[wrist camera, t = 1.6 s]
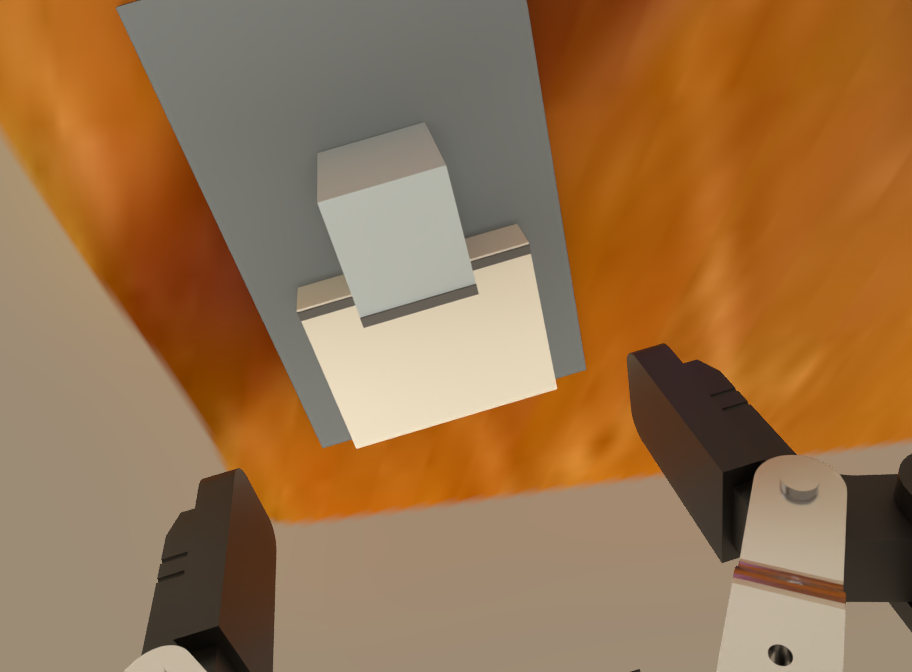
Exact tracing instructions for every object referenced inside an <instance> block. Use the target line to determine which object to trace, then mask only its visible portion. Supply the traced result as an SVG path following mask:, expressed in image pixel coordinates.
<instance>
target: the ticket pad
mask: <svg viewBox="0 0 912 672" xmlns="http://www.w3.org/2000/svg"><path fill="white" fill-rule="evenodd" d="M116 9H117V11H118V13H119V16H120V18H121V20H122V22H123V24H124V26H125V28H126V30H127V33H128V35H129V37H130V39H131V41H132V43H133V45H134V47H135V50H136V52H137V54H138V56H139V58H140V60H141V62H142V64H143V67H144V69H145V71H146V73H147V75H148V77H149V79H150V82H151V84H152V86H153V88H154V90H155V92H156V94H157V96H158V99H159V101H160V103H161V105H162V107H163V109H164V111H165V113H166V116H167V118H168V120H169V122H170V124H171V126H172V128H173V130H174V133H175V135H176V137H177V139H178V141H179V143H180V145H181V147H182V150H183V152H184V154H185V156H186V158H187V160H188V162H189V165H190V167H191V169H192V171H193V173H194V175H195V177H196V179H197V182H198V184H199V186H200V188H201V190H202V192H203V194H204V196H205V199H206V201H207V203H208V205H209V207H210V209H211V211H212V213H213V216H214V218H215V220H216V222H217V224H218V226H219V228H220V230H221V233H222V235H223V237H224V239H225V241H226V243H227V245H228V248H229V250H230V252H231V254H232V256H233V258H234V260H235V262H236V265H237V267H238V269H239V271H240V273H241V275H242V277H243V279H244V282H245V284H246V286H247V288H248V290H249V292H250V294H251V296H252V299H253V301H254V303H255V305H256V307H257V309H258V311H259V313H260V316H261V318H262V320H263V322H264V324H265V326H266V328H267V331H268V333H269V335H270V337H271V339H272V341H273V343H274V345H275V348H276V350H277V352H278V354H279V356H280V358H281V360H282V362H283V365H284V367H285V369H286V371H287V373H288V375H289V377H290V379H291V382H292V384H293V386H294V388H295V390H296V392H297V394H298V396H299V399H300V401H301V403H302V405H303V407H304V409H305V411H306V414H307V416H308V418H309V420H310V422H311V424H312V426H313V428H314V431H315V433H316V435H317V437H318V439H319V441H320V443H321V445H322V448H325V447H328V446H332V445H335V444H338V443H342V442H345V441H348V440H353V442H354V444H355V447H356V449H357V448H361V447H364V446H367V445H371V444H374V443H378V442H381V441H384V440H388V439H391V438H394V437H398V436H401V435H404V434H408V433H411V432H414V431H418V430H421V429H425V428H428V427H431V426H435V425H438V424H441V423H445V422H448V421H451V420H455V419H458V418H461V417H465V416H468V415H472V414H475V413H478V412H482V411H485V410H488V409H492V408H495V407H498V406H502V405H505V404H508V403H512V402H515V401H519V400H522V399H525V398H529V397H532V396H535V395H539V394H542V393H545V392H549V391H552V390H555V389H557V385H556V380H555V379H557V378H560V377H563V376H567V375H570V374H573V373H577V372H580V371H584V370H586V366H585V359H584V353H583V347H582V341H581V335H580V328H579V322H578V316H577V310H576V304H575V297H574V291H573V285H572V279H571V273H570V266H569V260H568V254H567V248H566V241H565V235H564V229H563V223H562V217H561V210H560V204H559V198H558V192H557V186H556V179H555V173H554V167H553V161H552V155H551V148H550V142H549V136H548V130H547V124H546V117H545V111H544V105H543V99H542V93H541V86H540V80H539V74H538V68H537V62H536V55H535V49H534V43H533V37H532V31H531V24H530V18H529V12H528V6H527V0H137V1H134V2H130V3H127V4H123V5H120V6H118V7H116ZM423 122H425V123H426V125H427V127H428V129H429V132H430V134H431V136H432V138H433V140H434V142H435V144H436V146H437V148H438V150H439V152H440V154H441V156H442V158H443V160H444V162H445V164H446V167H447V171H448V174H449V178H450V182H451V186H452V190H453V194H454V198H455V202H456V206H457V210H458V214H459V218H460V222H461V226H462V230H463V234H464V238H465V242H466V246H467V250H468V254H469V258H470V262H471V266H472V270H473V274H474V278H475V282H476V285H477V289H478V293H479V294H477V295H474V296H471V297H467V298H464V299H460V300H457V301H454V302H450V303H447V304H444V305H440V306H437V307H433V308H430V309H427V310H423V311H420V312H416V313H413V314H410V315H406V316H403V317H400V318H396V319H393V320H389V321H386V322H383V323H379V324H376V325H372V326H369V327H366V328H363V325H362V322H361V320H360V316H359V313H358V311H357V308H356V305H355V303H354V300H353V297H352V295H351V292H350V289H349V286H348V284H347V281H346V278H345V276H344V273H343V270H342V268H341V265H340V262H339V260H338V257H337V254H336V252H335V249H334V246H333V244H332V241H331V238H330V236H329V233H328V230H327V228H326V225H325V222H324V220H323V217H322V214H321V212H320V209H319V206H318V203H317V153H319V152H323V151H326V150H330V149H333V148H337V147H340V146H344V145H347V144H350V143H354V142H357V141H361V140H364V139H368V138H371V137H374V136H378V135H381V134H385V133H388V132H392V131H395V130H399V129H402V128H405V127H409V126H412V125H416V124H419V123H423Z"/></svg>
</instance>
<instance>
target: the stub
mask: <svg viewBox="0 0 912 672" xmlns="http://www.w3.org/2000/svg"><path fill="white" fill-rule="evenodd" d="M317 203H318V206H319V209H320V212H321V214H322V217H323V220H324V222H325V225H326V228H327V230H328V233H329V236H330V238H331V241H332V244H333V246H334V249H335V252H336V254H337V257H338V260H339V262H340V265H341V268H342V270H343V273H344V276H345V278H346V281H347V284H348V286H349V289H350V292H351V295H352V297H353V300H354V303H355V305H356V308H357V311H358V313H359V316H360V320H361V322H362V325H363V328H366V327H369V326H372V325H376V324H379V323H383V322H386V321H389V320H393V319H396V318H400V317H403V316H406V315H410V314H413V313H416V312H420V311H423V310H427V309H430V308H433V307H437V306H440V305H444V304H447V303H450V302H454V301H457V300H460V299H464V298H467V297H471V296H474V295H477V294H479V293H478V289H477V285H476V282H475V278H474V274H473V270H472V266H471V262H470V258H469V254H468V250H467V246H466V242H465V238H464V234H463V230H462V226H461V222H460V218H459V214H458V210H457V206H456V202H455V198H454V194H453V190H452V186H451V182H450V178H449V174H448V171H447V167H446V164H445V162H444V160H443V158H442V156H441V154H440V152H439V150H438V148H437V146H436V144H435V142H434V140H433V138H432V136H431V134H430V132H429V129H428V127H427V125H426V123H425V122H423V123H419V124H416V125H412V126H409V127H405V128H402V129H399V130H395V131H392V132H388V133H385V134H381V135H378V136H374V137H371V138H368V139H364V140H361V141H357V142H354V143H350V144H347V145H344V146H340V147H337V148H333V149H330V150H326V151H323V152H319V153H317Z"/></svg>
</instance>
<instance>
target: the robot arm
mask: <svg viewBox="0 0 912 672" xmlns="http://www.w3.org/2000/svg"><path fill="white" fill-rule="evenodd" d="M627 368H628V379H629V390H630V401H631V411H632V416H633V420H634V424H635V426H636V429H637V431H638V434H639V436H640V438H641V439H642V441H643V443H644V444H645V446H646V447H647V449H648V450H649V452H650V453H651V455H652V456H653V458H654V460H655V461H656V463H657V464H658V466H659V467H660V469H661V470H662V472H663V473H664V475H665V476H666V478H667V479H668V481H669V483H670V484H671V486H672V487H673V489H674V490H675V492H676V493H677V495H678V496H679V498H680V499H681V501H682V503H683V504H684V506H685V507H686V509H687V510H688V512H689V513H690V515H691V516H692V518H693V519H694V521H695V522H696V524H697V526H698V527H699V528H700V530H701V532H702V533H703V535H704V536H705V538H706V539H707V541H708V542H709V544H710V546H711V547H712V549H713V550H714V551H715V553H716V555H717V556H718V558H719V559H720V561H721V562H722V563H724V562H727V561H730V560H733V559H736V558H739V557H740V561H739V565H738V566H736V567H735V570H734V575H733V580H732V585H731V591H730V596H729V602H728V608H727V613H726V619H725V624H724V631H723V636H722V641H721V647H720V653H719V658H718V664H717V670H716V672H843V667H844V641H845V640H844V639H845V614H846V602H889V603H890V604H891V605H892V607H893V608H894V610H895V611H896V612H897V614H898V615H899V616H900V617H901V619H902V620H903V621H904V623H905V624H906V625H907V627H908V628H909V629H910V630H911V632H912V454H911V455H909V456H907V457H906V458H905V459H904V460H903V461H902V463H901V465H900V468H899V472H898V474H892V475H891V474H890V475H862V476H861V475H860V476H851V475H840V474H839V473H838V472H837V471H836V470H834V469H833V468H832V467H831V466H829V465H827V464H825V463H824V462H822V461H819V460H817V459H814V458H811V457H807V456H801V455H797V454H796V453H795V452H794V451H793V450H792V449H791V448H790V447H789V446H788V445H787V444H786V443H785V442H784V440H783V439H782V438H781V437H780V436H779V435H778V434H777V433H776V432H775V431H774V430H773V428H772V427H771V426H770V425H769V424H768V423H767V422H766V421H765V420H764V419H763V418H762V416H761V415H760V414H759V413H758V412H757V411H756V410H755V409H754V408H753V407H752V406H751V404H750V405H749V404H748V402H747V400H746V399H745V398H744V397H743V396H742V395H741V394H740V392H739V391H736V390H735V387H734V386H733V385H732V384H731V383H730V382H729V380H728V379H727V378H726V377H725V376H724V375H723V374H722V373H721V372H720V371H719V370H717V369H715V368H713V367H711V366H709V365H707V364H705V363H703V362H701V361H699V360H694V361H691V362H687V363H684V364H683V363H682V362H681V361H680V359H679V358H678V357H677V356H676V355H675V353H674V352H673V351H672V350H671V349H670V348H669V347H668V346H667V345H666V344H659V345H656V346H653V347H649V348H646V349H642V350H639V351H636V352H632V353H629V354H628V356H627ZM161 560H162V564H160V569H159V573H158V578H157V579H158V583H156V588H155V593H154V597H153V602H152V607H151V612H150V617H149V622H148V627H147V631H146V636H145V641H144V646H143V651H142V655H141V656H140V657H139V658H137V659H136V660H135V661H134V662H132V663H131V664H130V666H128V667H127V668H126V669H125V670H124V672H273V645H274V644H273V643H274V612H275V577H276V576H275V575H276V540H275V535H274V530H273V527H272V524H271V521H270V519H269V517H268V515H267V513H266V511H265V510H264V508H263V506H262V504H261V502H260V500H259V499H258V497H257V495H256V493H255V491H254V489H253V487H252V486H251V484H250V482H249V480H248V478H247V476H246V475H245V473H244V472H243V471H242V470H241V469H240V468H238V469H235V470H231V471H228V472H224V473H221V474H218V475H214V476H211V477H208V478H204V479H202V480H201V481H200V484H199V489H198V494H197V500H196V506H195V509H192V510H188V511H185V512H182V513H180V515H179V517H178V518H177V520H176V521H175V523H174V524H173V526H172V528H171V529H170V531H169V532H168V534H167V536H166V539H165V544H164V549H163V554H162V559H161ZM632 672H640V670H639V669H638V670H635V671H632Z"/></svg>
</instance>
